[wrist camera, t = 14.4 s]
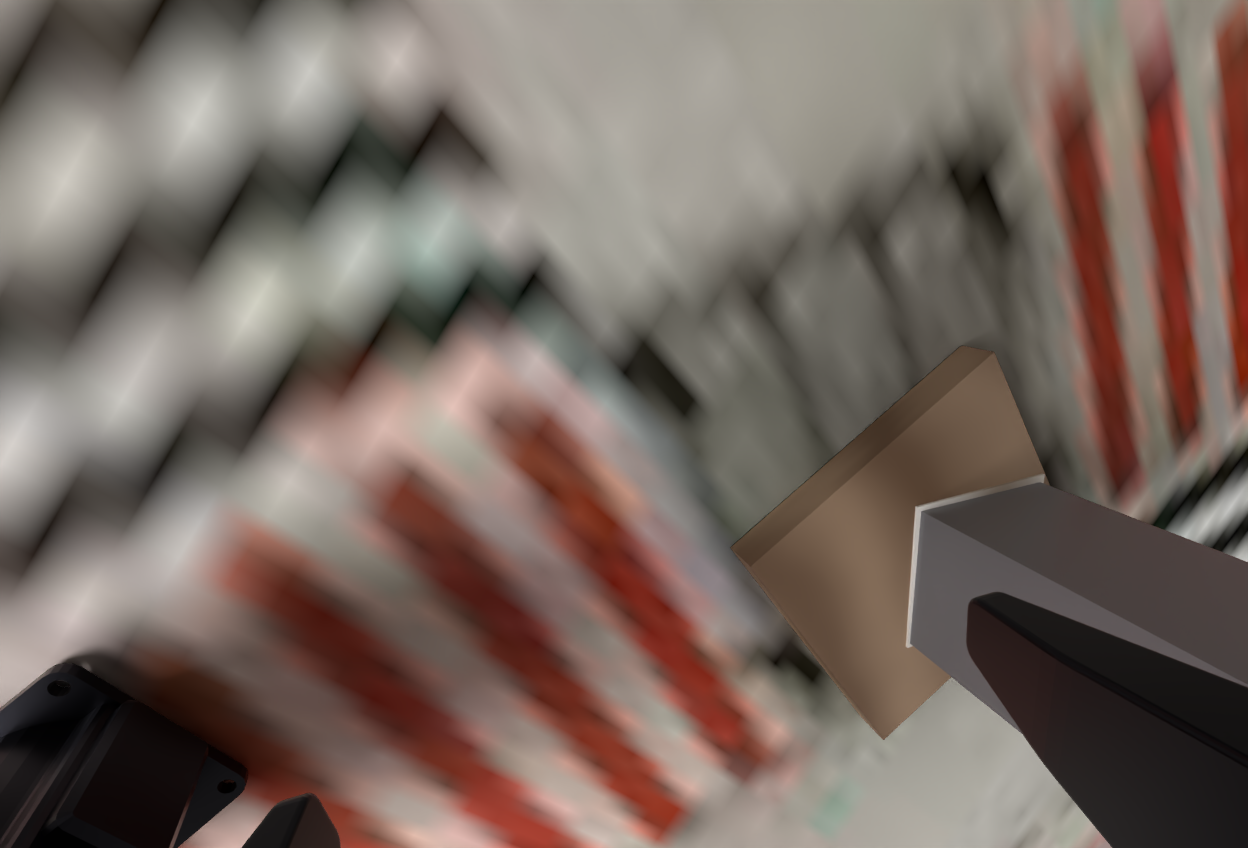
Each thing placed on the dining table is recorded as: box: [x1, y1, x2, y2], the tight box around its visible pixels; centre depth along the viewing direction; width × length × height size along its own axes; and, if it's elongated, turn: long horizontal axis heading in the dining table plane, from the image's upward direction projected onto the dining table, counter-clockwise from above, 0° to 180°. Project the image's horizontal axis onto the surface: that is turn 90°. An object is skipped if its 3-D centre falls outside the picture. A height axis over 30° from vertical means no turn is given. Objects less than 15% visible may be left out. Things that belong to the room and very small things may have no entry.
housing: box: [910, 482, 1248, 733], centre depth 20 cm, size 6×6×12 cm
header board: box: [731, 346, 1050, 740], centre depth 25 cm, size 12×12×4 cm
